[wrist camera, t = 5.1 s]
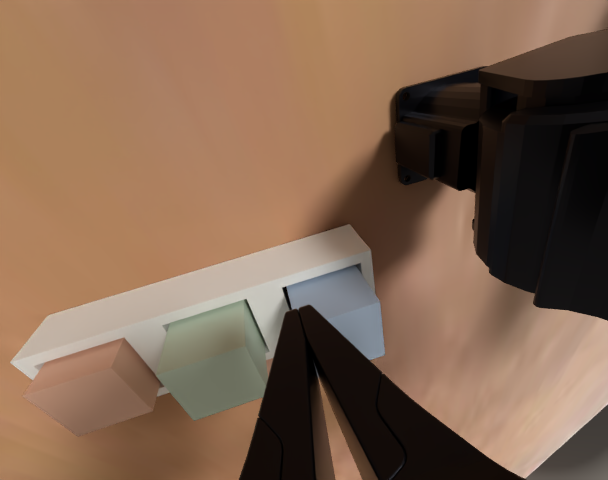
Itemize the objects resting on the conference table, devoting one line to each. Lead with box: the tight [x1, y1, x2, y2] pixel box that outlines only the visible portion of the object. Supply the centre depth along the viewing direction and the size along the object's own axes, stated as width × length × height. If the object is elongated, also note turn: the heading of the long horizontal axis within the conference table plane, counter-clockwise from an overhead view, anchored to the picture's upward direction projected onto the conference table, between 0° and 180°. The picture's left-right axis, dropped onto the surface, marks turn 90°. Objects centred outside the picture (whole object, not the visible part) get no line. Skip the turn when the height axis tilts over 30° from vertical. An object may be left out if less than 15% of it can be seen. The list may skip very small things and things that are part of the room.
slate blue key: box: [286, 265, 385, 378], centre depth 19 cm, size 5×5×5 cm
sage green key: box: [156, 299, 268, 421], centre depth 19 cm, size 5×5×5 cm
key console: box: [10, 224, 375, 397], centre depth 21 cm, size 23×7×4 cm, turn 102°
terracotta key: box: [23, 338, 161, 436], centre depth 19 cm, size 5×5×5 cm
